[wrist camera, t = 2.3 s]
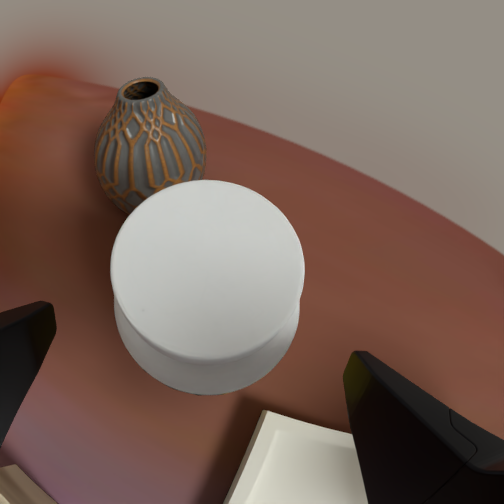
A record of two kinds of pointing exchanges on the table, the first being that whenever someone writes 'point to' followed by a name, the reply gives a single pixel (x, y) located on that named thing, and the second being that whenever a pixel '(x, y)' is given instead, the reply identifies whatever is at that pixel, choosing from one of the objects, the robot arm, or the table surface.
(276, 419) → the tray
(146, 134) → the vase
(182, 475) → the table surface
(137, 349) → the pill bottle
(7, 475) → the birch block
